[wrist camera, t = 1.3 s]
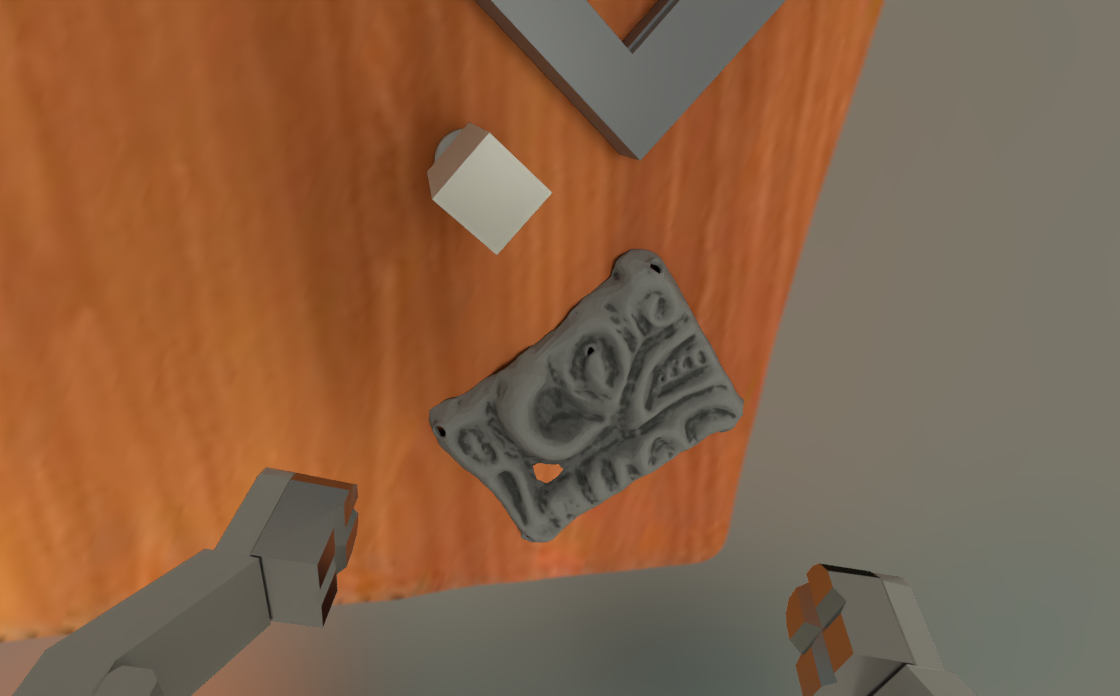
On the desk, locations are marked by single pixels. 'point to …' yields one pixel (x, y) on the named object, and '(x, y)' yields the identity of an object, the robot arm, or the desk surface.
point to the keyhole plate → (631, 58)
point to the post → (484, 186)
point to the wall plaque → (593, 401)
